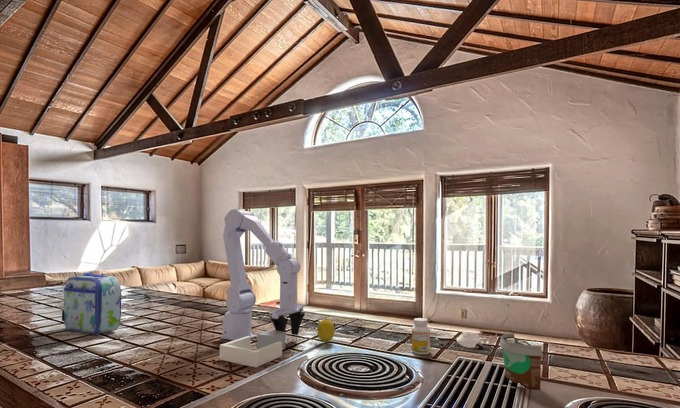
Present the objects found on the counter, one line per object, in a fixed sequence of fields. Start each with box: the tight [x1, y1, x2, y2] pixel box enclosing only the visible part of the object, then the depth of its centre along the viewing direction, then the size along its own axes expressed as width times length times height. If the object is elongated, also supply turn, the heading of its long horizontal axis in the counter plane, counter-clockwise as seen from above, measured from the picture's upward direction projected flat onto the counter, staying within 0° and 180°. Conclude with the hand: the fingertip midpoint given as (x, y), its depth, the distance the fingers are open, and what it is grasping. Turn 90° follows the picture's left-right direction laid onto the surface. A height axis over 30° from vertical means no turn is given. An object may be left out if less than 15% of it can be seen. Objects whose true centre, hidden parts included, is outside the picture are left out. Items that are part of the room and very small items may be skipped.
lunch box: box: [61, 272, 122, 335], centre depth 141 cm, size 26×11×21 cm, turn 58°
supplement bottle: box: [411, 317, 431, 356], centre depth 114 cm, size 5×5×10 cm
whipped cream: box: [456, 331, 484, 349], centre depth 121 cm, size 8×7×5 cm
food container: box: [499, 332, 543, 391], centre depth 91 cm, size 12×6×10 cm, turn 5°
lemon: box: [317, 317, 336, 344], centre depth 124 cm, size 6×6×8 cm
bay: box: [219, 336, 283, 368], centre depth 109 cm, size 14×11×4 cm
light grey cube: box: [257, 329, 286, 351], centre depth 117 cm, size 6×6×5 cm
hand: (288, 337), depth 124 cm, fingers open, 7 cm apart
